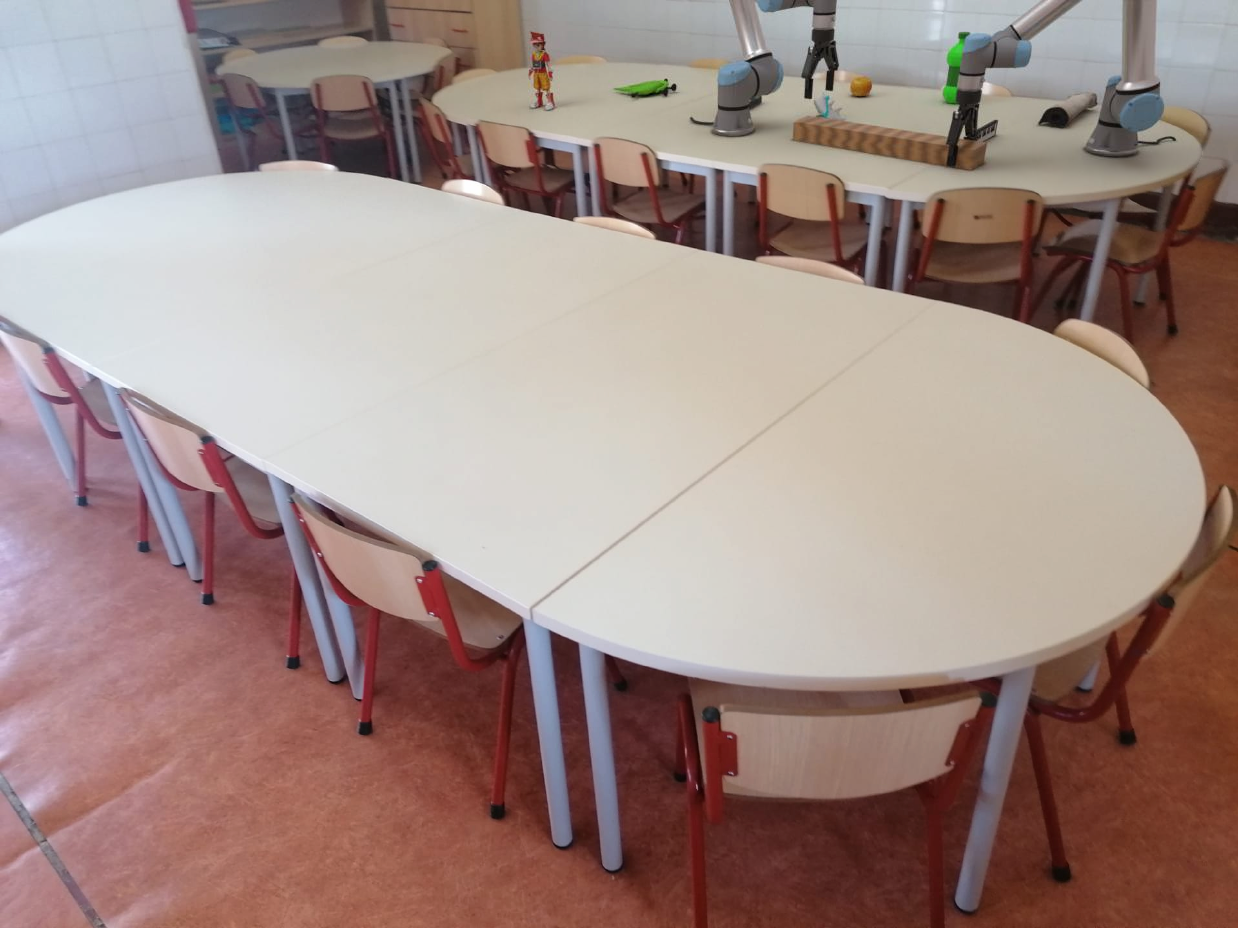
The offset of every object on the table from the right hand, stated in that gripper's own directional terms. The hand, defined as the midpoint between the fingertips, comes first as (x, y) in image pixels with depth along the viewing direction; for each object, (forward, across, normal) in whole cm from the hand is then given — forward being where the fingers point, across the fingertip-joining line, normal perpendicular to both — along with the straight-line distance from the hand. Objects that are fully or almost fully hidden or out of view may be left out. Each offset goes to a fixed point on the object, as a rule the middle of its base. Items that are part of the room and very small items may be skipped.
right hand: (957, 161), depth 291 cm
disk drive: (+1, +26, +105) cm, 108 cm away
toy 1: (+1, -18, +177) cm, 178 cm away
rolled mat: (+1, +72, -8) cm, 72 cm away
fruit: (+1, +64, +73) cm, 97 cm away
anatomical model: (+1, +26, +65) cm, 70 cm away
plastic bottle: (+1, +73, +36) cm, 81 cm away
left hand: (-15, 0, +54) cm, 56 cm away
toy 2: (+1, +24, +159) cm, 161 cm away
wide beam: (0, 0, +27) cm, 27 cm away
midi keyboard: (0, +28, +4) cm, 28 cm away
